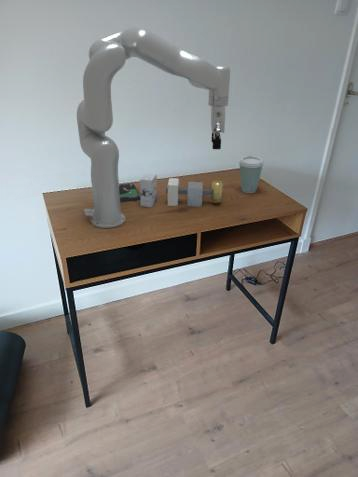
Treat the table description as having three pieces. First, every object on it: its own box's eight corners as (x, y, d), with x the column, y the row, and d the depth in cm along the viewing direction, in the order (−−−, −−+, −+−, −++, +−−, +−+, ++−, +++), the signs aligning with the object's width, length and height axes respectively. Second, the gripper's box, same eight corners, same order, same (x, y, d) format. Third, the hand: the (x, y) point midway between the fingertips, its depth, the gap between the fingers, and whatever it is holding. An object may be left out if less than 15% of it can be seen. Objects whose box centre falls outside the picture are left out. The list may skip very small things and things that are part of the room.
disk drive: (111, 191, 165) (116, 203, 152) (110, 185, 163) (116, 197, 151) (133, 188, 168) (140, 201, 155) (133, 183, 166) (140, 195, 154)
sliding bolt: (165, 200, 151) (165, 182, 147) (166, 196, 155) (166, 178, 151) (221, 203, 150) (223, 184, 146) (221, 198, 154) (223, 180, 150)
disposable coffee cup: (262, 195, 162) (266, 162, 154) (237, 195, 162) (241, 162, 154) (257, 186, 171) (261, 155, 164) (234, 186, 171) (237, 155, 164)
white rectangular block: (167, 205, 151) (167, 185, 146) (169, 198, 157) (169, 178, 153) (177, 206, 150) (177, 185, 146) (178, 198, 157) (178, 178, 153)
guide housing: (187, 206, 151) (187, 187, 147) (187, 199, 157) (188, 181, 153) (201, 206, 150) (202, 188, 146) (201, 199, 156) (202, 182, 152)
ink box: (146, 198, 157) (145, 172, 151) (157, 199, 156) (157, 173, 150) (140, 206, 149) (139, 179, 144) (152, 207, 149) (151, 180, 143)
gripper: (230, 105, 131) (226, 152, 140) (226, 97, 146) (223, 140, 155) (209, 105, 132) (207, 151, 140) (207, 97, 147) (206, 139, 155)
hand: (215, 145), depth 148 cm, fingers open, 9 cm apart
